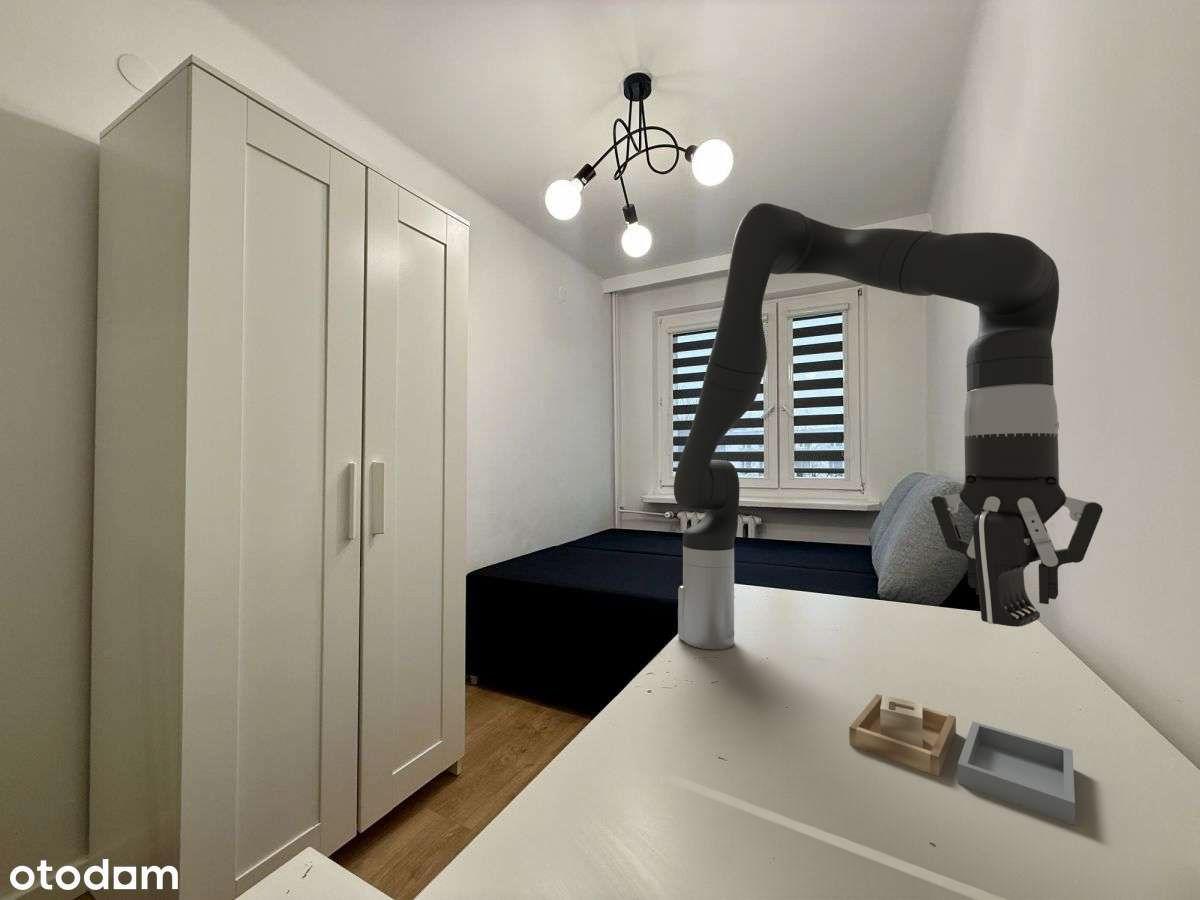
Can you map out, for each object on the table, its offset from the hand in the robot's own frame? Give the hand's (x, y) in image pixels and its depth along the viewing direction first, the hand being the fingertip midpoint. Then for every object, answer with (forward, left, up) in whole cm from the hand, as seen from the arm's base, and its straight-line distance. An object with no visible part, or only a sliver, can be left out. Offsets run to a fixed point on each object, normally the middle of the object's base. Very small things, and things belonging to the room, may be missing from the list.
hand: (1011, 596), depth 51 cm
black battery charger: (0, 0, -3) cm, 3 cm away
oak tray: (-10, 0, -19) cm, 21 cm away
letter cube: (-10, -1, -18) cm, 21 cm away
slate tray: (0, 0, -19) cm, 19 cm away
